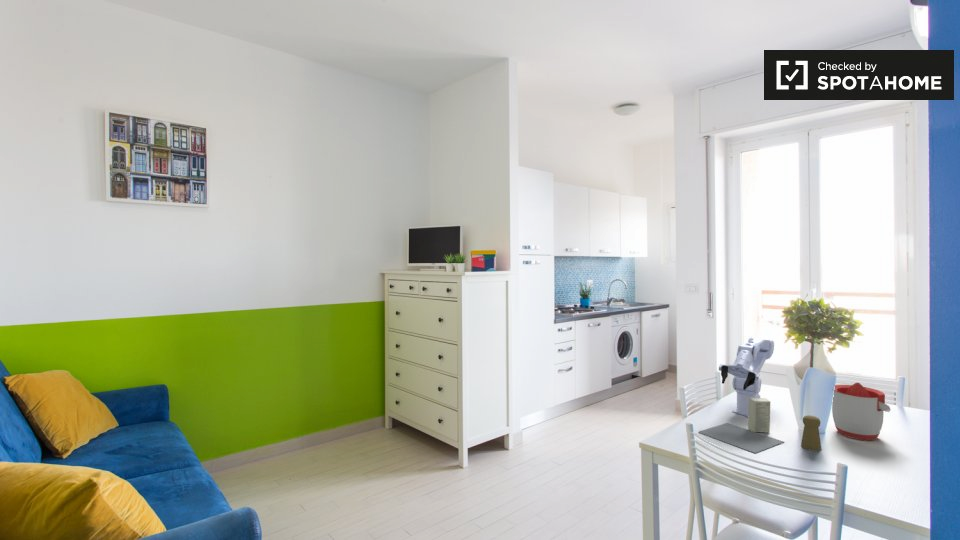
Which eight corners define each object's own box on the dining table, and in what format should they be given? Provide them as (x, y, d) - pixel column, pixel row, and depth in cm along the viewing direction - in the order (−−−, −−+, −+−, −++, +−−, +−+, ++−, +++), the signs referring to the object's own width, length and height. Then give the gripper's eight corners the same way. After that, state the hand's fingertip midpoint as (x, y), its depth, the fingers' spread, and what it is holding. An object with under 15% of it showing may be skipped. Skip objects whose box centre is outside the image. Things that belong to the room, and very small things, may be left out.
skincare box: (764, 428, 185) (765, 398, 184) (770, 433, 180) (771, 401, 180) (747, 428, 185) (748, 397, 185) (752, 432, 181) (754, 400, 181)
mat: (727, 423, 191) (727, 422, 191) (784, 442, 172) (784, 441, 172) (698, 432, 182) (698, 431, 182) (755, 453, 163) (755, 452, 163)
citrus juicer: (880, 448, 165) (881, 392, 164) (823, 432, 180) (824, 381, 179) (897, 438, 174) (898, 385, 173) (841, 424, 188) (842, 374, 187)
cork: (815, 452, 164) (816, 420, 163) (797, 445, 169) (797, 415, 168) (825, 448, 166) (825, 417, 166) (806, 442, 172) (807, 412, 171)
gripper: (723, 352, 198) (714, 371, 189) (762, 361, 189) (755, 382, 180) (722, 365, 201) (713, 384, 192) (761, 375, 192) (753, 396, 184)
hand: (733, 384), depth 187 cm, fingers open, 7 cm apart
